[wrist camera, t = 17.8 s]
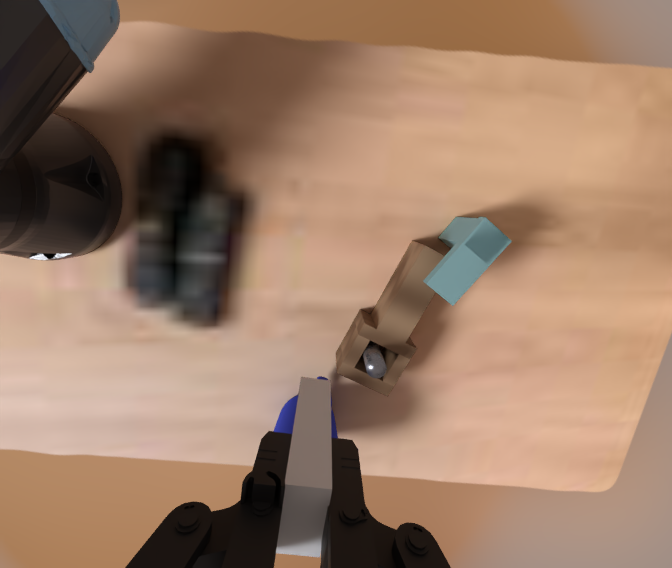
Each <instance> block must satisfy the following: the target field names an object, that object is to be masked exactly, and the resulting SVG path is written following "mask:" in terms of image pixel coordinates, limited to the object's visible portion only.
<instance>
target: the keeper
mask: <svg viewBox="0 0 672 568" xmlns="http://www.w3.org/2000/svg"><path fill="white" fill-rule="evenodd" d="M438 238H439V239H440V240H441V241H443V242H444V243H445V244H446V245H447V246H448V247H450V248H451V250H450V251H449V252H448V253H447V254H446V255H445V256H444V258H443V259H442V260H441V261H440V262H439V263H438V264H437V266H436V267H435V268H434V269H433V270H432V271H431V272H430V274H429V275H428V276H427V277H426V278H425V279H424V280H423V282H424V283H426V284H427V285H428V286H429V287H430V288H432V289H433V290H434V291H435V292H436V293H438V294H439V295H440V296H441V297H442V298H444V299H445V300H446V301H447V302H449V303H450V304H451V305H452V306H453V305H454V304H455V303H456V302H457V301H458V300H459V299H460V298H461V296H462V295H463V294H464V293H465V292H466V291H467V290H468V289H469V288H470V287H471V285H472V284H473V283H474V282H475V281H476V280H477V279H478V278H479V277H480V276H481V275H482V273H483V272H484V271H485V270H486V269H487V268H488V267H489V266H490V265H491V264H492V262H493V261H494V260H495V259H496V258H497V257H498V256H499V255H500V254H501V253H502V252H503V250H504V249H505V248H506V247H507V246H508V245H509V244H510V243H511V242H512V241H511V240H510V239H509V238H508V237H507V236H506V235H504V234H503V233H502V232H501V231H500V230H499V229H498V228H497V227H496V226H495V225H493V224H492V223H491V222H490V221H489V220H488V219H487V218H486V217H479V218H466V217H455V219H454V220H453V221H452V222H451V223H450V224H449V226H448V227H447V228H446V229H445V230H444V231H443V233H442V234H441V235H440V236H439V237H438Z"/></svg>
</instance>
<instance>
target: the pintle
mask: <svg viewBox="0 0 672 568" xmlns="http://www.w3.org/2000/svg"><path fill="white" fill-rule="evenodd" d="M362 354H363V358H364V362H365V366H366V370H367V373H368V375H369V376H370V377H372V378H380V377H382V376H384V375H385V373H386V370H387V367H386V364H385V361H384V359H383V356H382V353H381V351H380V348H379V345H378V344H377V343H375V342H373V341H369V343H368V345H367V346H366V348H365V350H364V352H363V353H362Z"/></svg>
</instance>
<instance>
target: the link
mask: <svg viewBox="0 0 672 568" xmlns="http://www.w3.org/2000/svg"><path fill="white" fill-rule="evenodd" d="M443 258H444V255H442V254H440V253H438V252H437V251H435V250H433V249H431V248H429V247H427V246H425V245H423V244H420V243H417V242H415V241H412V242H411V243H410V245H409V247H408V249H407V251H406V252H405V254H404V256H403V258H402V260H401V261H400V263H399V265H398V267H397V268H396V270H395V272H394V274H393V276H392V277H391V279H390V281H389V283H388V284H387V286H386V288H385V290H384V292H383V293H382V295H381V297H380V299H379V300H378V302H377V304H376V306H375V308H374V309H373V311H372V313H371V314H369V313H367V312H365V311H363V310H361V309H360V310H359V312H358V314H357V316H356V318H355V319H354V321H353V323H352V325H351V327H350V328H349V330H348V332H347V334H346V336H345V338H344V339H343V341H342V343H341V345H340V347H339V348H338V350H337V352H336V366H337V373H338V374H340V375H342V376H344V377H346V378H349V379H351V380H353V381H355V382H357V383H359V384H362V385H364V386H366V387H368V388H370V389H373V390H375V391H377V392H379V393H381V394H384V395H386V396H388V395H389V394H390V392H391V391H392V389H393V387H394V386H395V384H396V382H397V381H398V379H399V377H400V376H401V374H402V372H403V371H404V369H405V367H406V366H407V364H408V363H409V361H410V359H411V358H412V356H413V354H414V353H415V351H416V349H417V348H416V347H415V345H414V344H413V342H412V340H411V339H410V337H409V336H410V334H411V333H412V331H413V329H414V328H415V326H416V324H417V323H418V321H419V319H420V318H421V316H422V314H423V313H424V311H425V309H426V308H427V306H428V304H429V303H430V301H431V299H432V298H433V296H434V294H435V293H436V292H435V291H434V290H433V289H432V288H430V287H429V286H428V285H427V284H426V283H424V282H423V280H424V279H425V278H426V277H427V276H428V275H429V274H430V272H431V271H432V270H433V269H434V268H435V267H436V266H437V264H438V263H439V262H440V261H441V260H442V259H443ZM369 341H373V342H375V343H377V344H379V345H381V346H383V347H384V348H383V350H382V352H381V353H382V356H383V359H384V361H385V364H386V367H387V370H386V373H385V375H384V376H382V377H380V378H372V377H370V376H369V375H368V373H367V370H366V366H365V362H364V358H363V354H362V353H363V352H364V350H365V348H366V346H367V345H368V343H369Z"/></svg>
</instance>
